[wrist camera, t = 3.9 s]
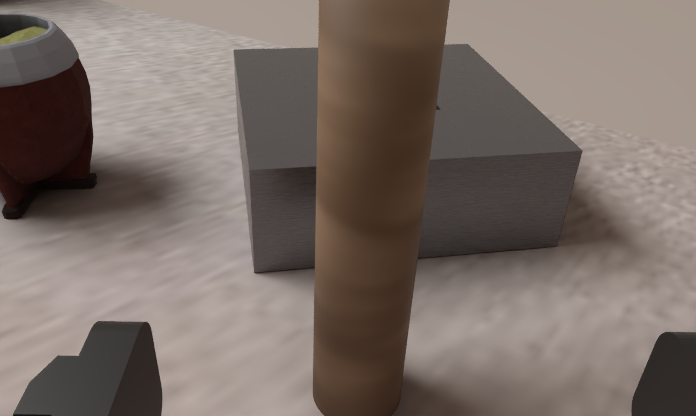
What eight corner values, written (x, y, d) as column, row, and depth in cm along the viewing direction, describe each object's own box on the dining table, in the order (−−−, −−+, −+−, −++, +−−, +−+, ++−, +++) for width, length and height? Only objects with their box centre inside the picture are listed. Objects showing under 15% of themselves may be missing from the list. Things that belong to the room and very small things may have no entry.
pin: (387, 354, 23) (439, -141, 15) (410, 421, 21) (488, -128, 12) (307, 364, 23) (311, -145, 14) (320, 433, 20) (334, -132, 12)
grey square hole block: (456, 119, 41) (467, 44, 38) (556, 246, 30) (582, 150, 27) (238, 130, 38) (233, 49, 36) (254, 272, 27) (249, 170, 24)
